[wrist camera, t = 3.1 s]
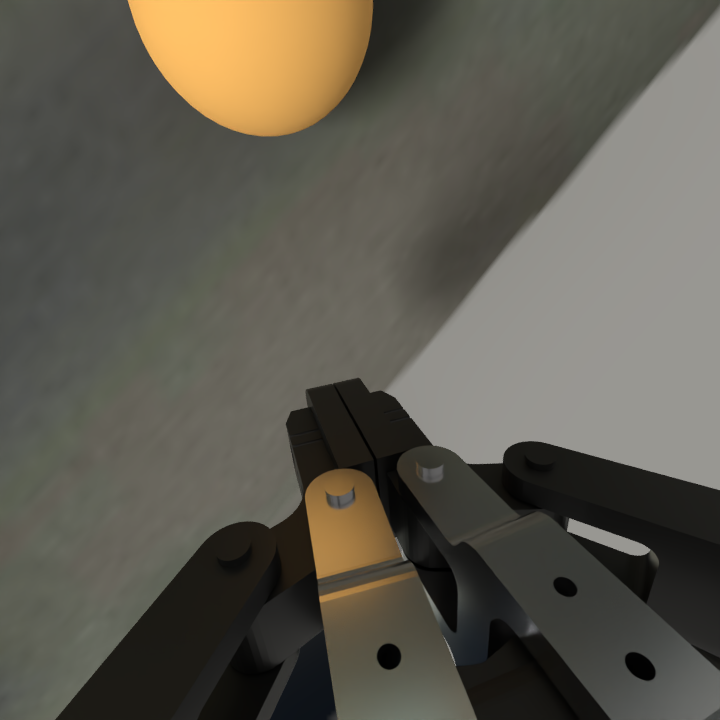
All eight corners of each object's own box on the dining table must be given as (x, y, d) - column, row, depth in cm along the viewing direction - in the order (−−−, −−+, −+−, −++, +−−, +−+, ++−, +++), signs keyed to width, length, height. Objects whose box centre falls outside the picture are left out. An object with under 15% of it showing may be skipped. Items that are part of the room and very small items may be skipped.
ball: (112, -99, 10) (23, -334, 6) (328, -88, 12) (407, -269, 7) (174, 149, 13) (149, 136, 8) (347, 135, 14) (415, 117, 9)
